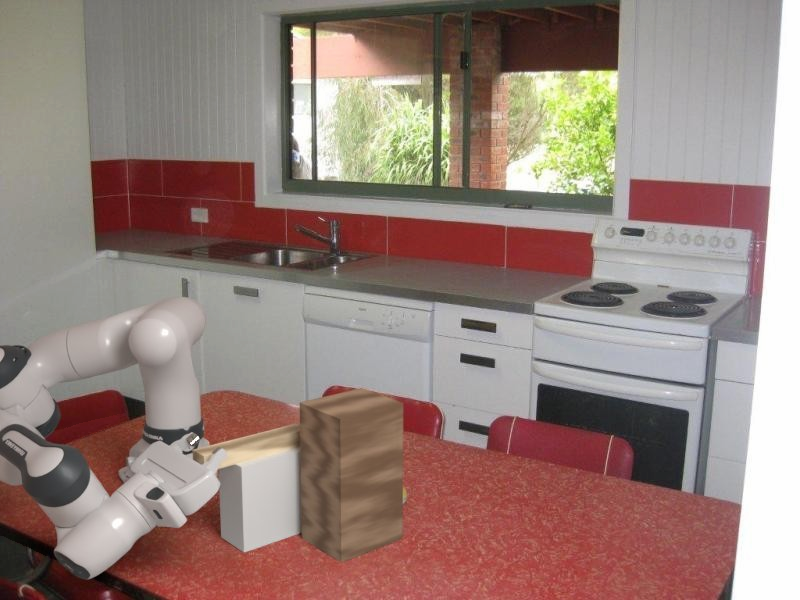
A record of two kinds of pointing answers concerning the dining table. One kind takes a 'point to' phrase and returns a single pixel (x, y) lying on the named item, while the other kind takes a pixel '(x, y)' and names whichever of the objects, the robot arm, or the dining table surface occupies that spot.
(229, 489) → the grey step
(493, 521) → the dining table surface
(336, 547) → the walnut block
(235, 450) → the oak slat
